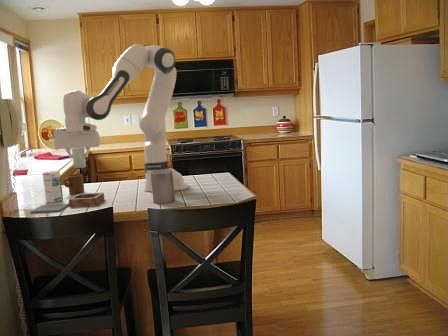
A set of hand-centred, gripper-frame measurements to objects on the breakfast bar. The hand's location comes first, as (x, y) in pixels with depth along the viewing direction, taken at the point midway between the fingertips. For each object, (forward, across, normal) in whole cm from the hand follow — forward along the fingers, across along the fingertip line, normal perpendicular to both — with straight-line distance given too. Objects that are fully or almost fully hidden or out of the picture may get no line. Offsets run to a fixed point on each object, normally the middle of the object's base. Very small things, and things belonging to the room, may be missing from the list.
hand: (78, 157), depth 225 cm
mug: (+22, -14, +28) cm, 38 cm away
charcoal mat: (+22, -12, -7) cm, 26 cm away
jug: (+4, 0, 0) cm, 4 cm away
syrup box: (+22, -18, +12) cm, 30 cm away
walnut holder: (+21, +2, +1) cm, 21 cm away
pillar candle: (+21, +38, -5) cm, 44 cm away
